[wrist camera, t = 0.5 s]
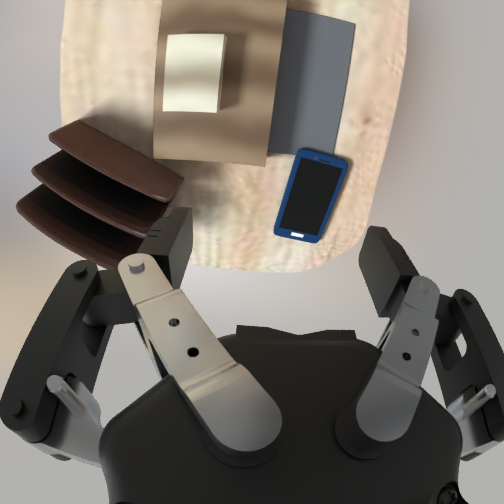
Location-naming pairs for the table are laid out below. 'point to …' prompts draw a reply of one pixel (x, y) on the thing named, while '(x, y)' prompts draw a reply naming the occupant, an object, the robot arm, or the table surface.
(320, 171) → the cell phone
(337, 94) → the mat
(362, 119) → the table surface
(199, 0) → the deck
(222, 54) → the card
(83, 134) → the letter holder
